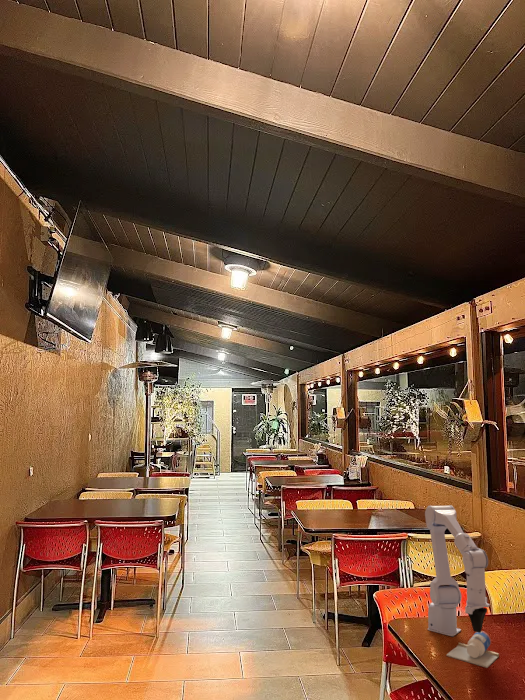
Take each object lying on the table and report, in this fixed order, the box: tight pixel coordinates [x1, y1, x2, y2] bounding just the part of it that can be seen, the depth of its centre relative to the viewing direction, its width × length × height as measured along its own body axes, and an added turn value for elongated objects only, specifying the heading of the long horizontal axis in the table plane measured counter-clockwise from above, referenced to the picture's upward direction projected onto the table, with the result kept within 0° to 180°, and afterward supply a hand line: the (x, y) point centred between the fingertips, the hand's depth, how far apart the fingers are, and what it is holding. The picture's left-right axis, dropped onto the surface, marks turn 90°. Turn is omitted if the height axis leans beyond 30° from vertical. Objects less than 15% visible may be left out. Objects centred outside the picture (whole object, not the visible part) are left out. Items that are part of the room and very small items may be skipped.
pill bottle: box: [467, 630, 492, 658], centre depth 183 cm, size 6×5×10 cm
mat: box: [446, 644, 499, 669], centre depth 182 cm, size 13×10×1 cm
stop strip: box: [457, 642, 500, 658], centre depth 186 cm, size 13×1×1 cm, turn 49°
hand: (477, 631), depth 184 cm, fingers closed
